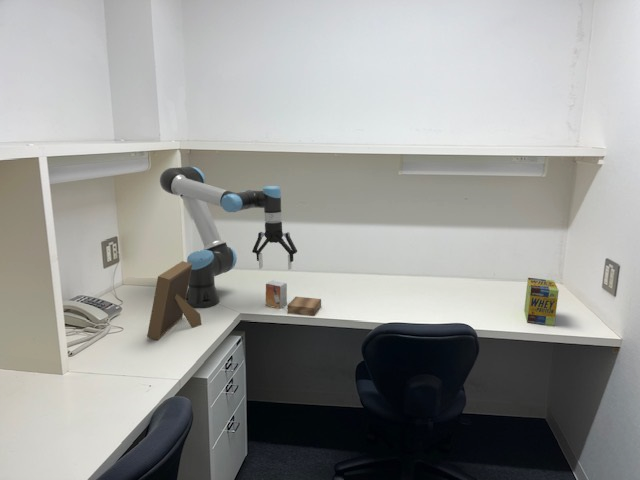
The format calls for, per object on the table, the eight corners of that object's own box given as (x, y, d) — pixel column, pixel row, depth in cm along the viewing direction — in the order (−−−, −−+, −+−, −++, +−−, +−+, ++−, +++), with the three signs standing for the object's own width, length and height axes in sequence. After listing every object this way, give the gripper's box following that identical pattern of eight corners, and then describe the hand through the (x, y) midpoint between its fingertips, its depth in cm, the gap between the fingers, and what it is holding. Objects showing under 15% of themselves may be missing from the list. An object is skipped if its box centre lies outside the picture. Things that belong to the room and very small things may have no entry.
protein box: (526, 323, 188) (530, 287, 185) (523, 310, 202) (527, 277, 199) (554, 326, 185) (559, 290, 181) (549, 313, 199) (554, 279, 195)
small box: (265, 305, 205) (265, 283, 203) (272, 301, 210) (272, 280, 208) (280, 308, 202) (280, 286, 200) (287, 304, 207) (287, 282, 204)
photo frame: (147, 339, 169) (143, 275, 164) (172, 317, 190) (169, 260, 185) (185, 342, 168) (182, 277, 162) (206, 320, 189) (204, 262, 183)
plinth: (287, 314, 197) (287, 305, 196) (295, 304, 208) (295, 296, 207) (314, 316, 194) (314, 308, 193) (321, 307, 205) (321, 298, 204)
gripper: (243, 222, 198) (246, 269, 202) (298, 223, 193) (300, 271, 197) (249, 220, 205) (252, 265, 209) (302, 220, 200) (304, 267, 204)
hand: (275, 268), depth 203 cm, fingers open, 13 cm apart
